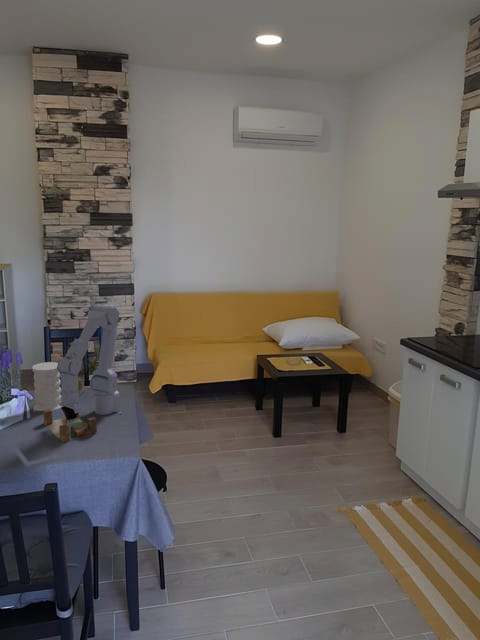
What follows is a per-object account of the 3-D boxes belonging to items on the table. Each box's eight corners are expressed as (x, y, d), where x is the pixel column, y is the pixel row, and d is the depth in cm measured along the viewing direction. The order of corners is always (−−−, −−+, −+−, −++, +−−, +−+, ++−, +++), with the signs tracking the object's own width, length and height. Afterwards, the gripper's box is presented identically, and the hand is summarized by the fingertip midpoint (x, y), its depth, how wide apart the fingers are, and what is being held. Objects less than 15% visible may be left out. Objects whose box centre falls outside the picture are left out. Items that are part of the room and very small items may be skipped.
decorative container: (35, 404, 206) (32, 362, 203) (64, 402, 209) (62, 361, 206) (31, 414, 195) (29, 371, 192) (62, 412, 198) (61, 369, 195)
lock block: (78, 427, 182) (77, 417, 181) (82, 431, 179) (82, 421, 178) (67, 430, 180) (67, 420, 179) (71, 434, 177) (71, 423, 176)
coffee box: (71, 390, 223) (69, 356, 220) (84, 391, 223) (83, 357, 219) (61, 397, 215) (59, 361, 211) (75, 398, 214) (74, 362, 210)
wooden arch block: (77, 437, 174) (76, 423, 173) (74, 434, 176) (74, 421, 175) (96, 432, 178) (96, 418, 177) (94, 429, 180) (93, 416, 179)
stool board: (76, 418, 194) (76, 403, 192) (98, 436, 179) (97, 420, 177) (42, 425, 186) (42, 410, 184) (62, 445, 170) (61, 428, 169)
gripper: (51, 386, 182) (53, 421, 185) (66, 398, 171) (67, 434, 174) (70, 383, 186) (72, 416, 189) (86, 394, 175) (87, 430, 178)
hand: (71, 425), depth 182 cm, fingers closed
